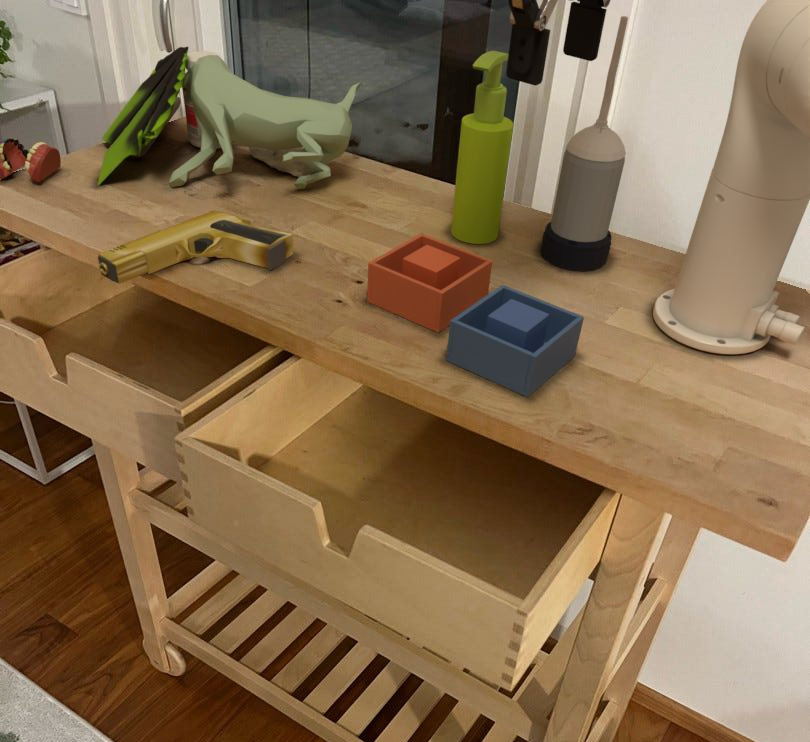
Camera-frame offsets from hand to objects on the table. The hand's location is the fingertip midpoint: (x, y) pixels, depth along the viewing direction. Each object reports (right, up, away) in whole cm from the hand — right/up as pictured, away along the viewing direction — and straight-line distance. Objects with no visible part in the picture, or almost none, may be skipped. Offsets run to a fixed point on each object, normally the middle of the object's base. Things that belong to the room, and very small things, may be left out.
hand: (552, 68), depth 71 cm
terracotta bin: (-10, -15, +19) cm, 26 cm away
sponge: (-29, +11, +43) cm, 53 cm away
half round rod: (-49, +20, +47) cm, 71 cm away
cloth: (-48, +15, +36) cm, 62 cm away
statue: (-30, +5, +36) cm, 47 cm away
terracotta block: (-10, -14, +19) cm, 26 cm away
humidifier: (+8, -6, +29) cm, 31 cm away
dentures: (-57, +8, +34) cm, 67 cm away
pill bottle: (-41, +16, +47) cm, 64 cm away
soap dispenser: (-4, -3, +31) cm, 32 cm away
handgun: (-31, -12, +18) cm, 38 cm away
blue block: (-2, -22, +11) cm, 25 cm away
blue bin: (-2, -22, +12) cm, 25 cm away
